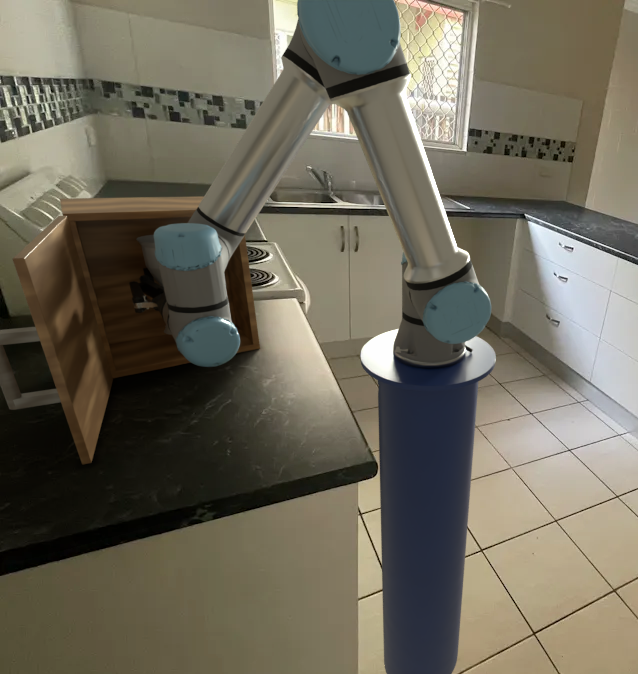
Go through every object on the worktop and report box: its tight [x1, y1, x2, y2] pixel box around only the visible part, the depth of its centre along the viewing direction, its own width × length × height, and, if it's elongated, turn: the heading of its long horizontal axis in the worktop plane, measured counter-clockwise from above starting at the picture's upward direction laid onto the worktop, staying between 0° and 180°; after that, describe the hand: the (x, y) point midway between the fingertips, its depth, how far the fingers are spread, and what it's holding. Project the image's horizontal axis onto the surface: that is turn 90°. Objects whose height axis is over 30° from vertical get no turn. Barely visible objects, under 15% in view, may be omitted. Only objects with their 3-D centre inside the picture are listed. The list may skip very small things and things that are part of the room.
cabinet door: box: [0, 215, 114, 466], centre depth 65 cm, size 6×24×28 cm, turn 31°
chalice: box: [136, 235, 172, 335], centre depth 89 cm, size 7×7×18 cm
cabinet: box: [59, 196, 261, 379], centre depth 89 cm, size 14×24×28 cm, turn 131°
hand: (164, 273), depth 92 cm, fingers closed on chalice, 5 cm apart
